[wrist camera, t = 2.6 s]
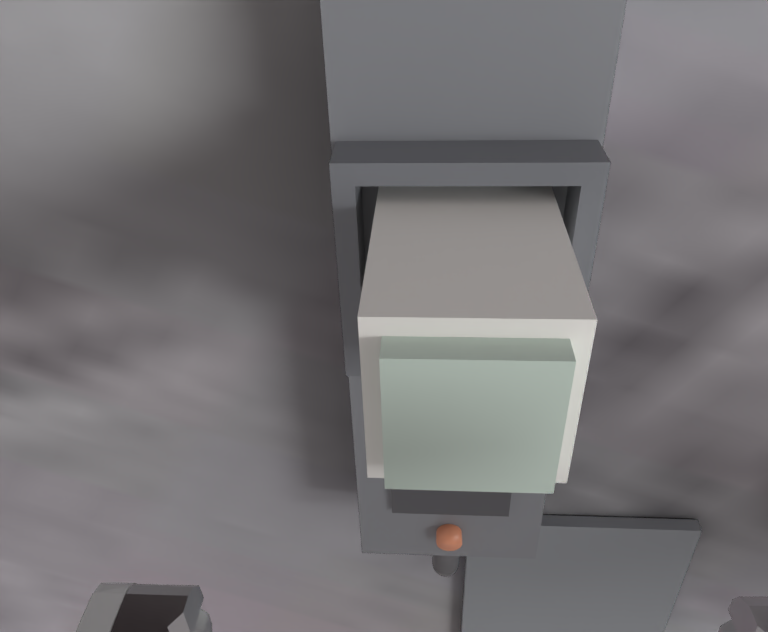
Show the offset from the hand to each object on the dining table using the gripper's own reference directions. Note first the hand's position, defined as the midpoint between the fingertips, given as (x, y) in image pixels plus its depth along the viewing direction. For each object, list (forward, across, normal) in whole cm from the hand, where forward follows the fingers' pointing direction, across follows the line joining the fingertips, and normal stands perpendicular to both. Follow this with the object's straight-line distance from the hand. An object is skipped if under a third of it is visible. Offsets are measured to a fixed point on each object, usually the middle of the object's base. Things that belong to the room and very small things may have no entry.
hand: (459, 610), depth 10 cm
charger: (+11, 0, 0) cm, 11 cm away
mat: (+14, -6, +20) cm, 25 cm away
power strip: (+14, -1, +5) cm, 15 cm away
